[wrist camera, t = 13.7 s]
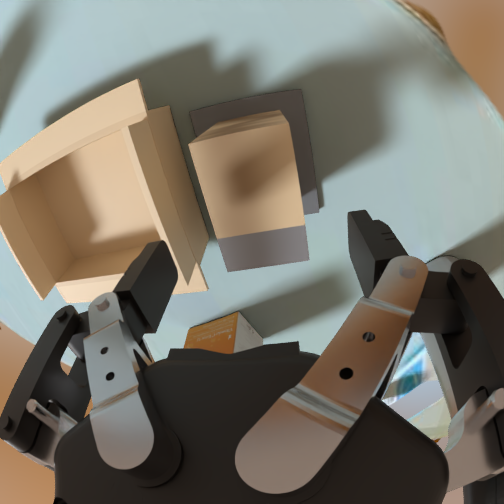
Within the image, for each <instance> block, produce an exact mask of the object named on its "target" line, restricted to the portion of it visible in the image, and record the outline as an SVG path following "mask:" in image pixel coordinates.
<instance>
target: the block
mask: <svg viewBox="0 0 504 504" xmlns="http://www.w3.org/2000/svg"><path fill="white" fill-rule="evenodd" d="M188 145H189V149H190V152H191V156H192V159H193V162H194V166H195V169H196V173H197V176H198V179H199V183H200V186H201V189H202V192H203V196H204V199H205V202H206V206H207V209H208V212H209V215H210V218H211V222H212V225H213V228H214V231H215V234H216V237H217V240H218V244H219V247H220V250H221V253H222V256H223V259H224V262H225V265H226V268H227V271H228V272H232V271H239V270H246V269H253V268H260V267H267V266H274V265H281V264H287V263H294V262H301V261H308V260H309V252H308V243H307V235H306V227H305V220H304V213H303V205H302V198H301V192H300V185H299V179H298V172H297V166H296V160H295V154H294V148H293V143H292V137H291V132H290V126H289V123H288V121H287V120H286V118H285V117H284V115H283V114H282V113H281V111H280V110H276V111H270V112H265V113H259V114H254V115H249V116H244V117H239V118H235V119H230V120H226V121H221V122H218V123H216V124H215V125H213V126H212V127H211V128H209V129H208V130H206V131H205V132H204V133H202V134H201V135H200V136H198V137H197V138H196V139H195V140H193V141H192V142H191V143H189V144H188Z"/></svg>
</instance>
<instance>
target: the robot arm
mask: <svg viewBox="0 0 504 504" xmlns="http://www.w3.org/2000/svg"><path fill="white" fill-rule="evenodd" d="M348 244H349V253H350V258H351V261H352V263H353V266H354V269H355V271H356V274H357V277H358V280H359V282H360V285H361V288H362V291H363V294H364V296H365V297H364V296H363V297H361V298H360V299H359V301H358V302H357V304H356V305H355V307H354V308H353V310H352V311H351V313H350V314H349V316H348V317H347V319H346V320H345V322H344V323H343V325H342V326H341V328H340V329H339V331H338V332H337V334H336V335H335V336H334V338H333V339H332V341H331V342H330V343H329V345H328V346H327V347H326V349H325V350H324V352H323V353H322V354H321V356H320V355H317V354H313V353H309V352H302V351H300V348H299V341H297V342H288V343H278V344H267V345H262V346H258V347H255V348H251V349H247V350H244V351H240V352H236V353H232V354H225V353H220V352H214V351H209V350H204V349H200V348H183V349H170V351H169V354H168V357H167V358H166V359H162V360H159V361H157V362H155V361H154V359H153V357H152V355H151V352H150V350H149V348H148V345H147V343H146V341H145V339H144V338H143V335H144V333H156V331H157V329H158V326H159V324H160V321H161V319H162V316H163V314H164V311H165V309H166V307H167V304H168V302H169V300H170V297H171V295H172V293H173V290H174V288H175V286H176V283H177V281H178V270H177V267H176V265H175V262H174V260H173V258H172V255H171V253H170V250H169V248H168V245H167V243H166V242H165V241H164V240H160V241H155V242H149V243H147V245H146V246H145V247H144V249H143V250H142V252H141V253H140V255H139V256H138V257H137V258H136V259H134V260H133V261H132V263H131V264H130V265H129V267H128V268H127V269H128V270H126V271H125V273H124V276H122V277H121V279H120V280H119V282H118V283H117V285H116V287H115V288H114V290H113V291H112V292H107V293H104V294H101V295H100V296H98V297H97V298H95V299H94V300H93V301H92V302H91V304H90V305H89V308H88V311H86V312H83V313H80V314H78V312H77V311H76V309H75V308H74V307H73V306H72V305H68V306H65V307H63V308H61V309H60V310H58V311H57V312H56V313H55V315H54V316H53V317H52V319H51V320H50V322H49V324H48V325H47V327H46V329H45V330H44V332H43V333H42V335H41V337H40V338H39V340H38V342H37V344H36V345H35V347H34V349H33V351H32V352H31V354H30V356H29V358H28V360H27V362H26V363H25V365H24V367H23V369H22V371H21V373H20V375H19V377H18V379H17V381H16V383H15V385H14V388H13V389H12V391H11V394H10V396H9V398H8V400H7V403H6V405H5V407H4V410H3V412H2V414H1V417H0V438H1V439H3V440H4V441H5V442H6V443H8V444H9V445H11V446H12V447H14V448H15V449H17V450H18V451H19V452H20V453H22V454H23V455H25V456H27V457H28V458H30V459H31V460H33V461H35V462H37V463H38V464H40V465H43V466H45V467H47V468H49V469H51V470H53V471H54V472H55V499H54V503H53V504H442V501H443V499H444V497H445V494H446V493H447V492H450V491H452V490H455V489H457V488H460V487H462V486H463V494H464V504H504V299H503V297H502V296H501V294H500V292H499V291H498V289H497V288H496V286H495V285H494V283H493V282H492V280H491V279H490V278H489V276H488V275H487V273H486V272H485V270H484V269H483V268H482V267H481V266H480V265H479V264H477V263H475V262H473V261H470V260H466V259H461V260H458V259H457V258H455V257H452V256H444V257H439V258H437V259H434V260H432V261H431V262H429V263H427V264H425V263H424V262H423V261H422V260H420V259H418V258H416V257H413V256H409V255H408V254H407V252H406V251H405V249H404V248H403V246H402V245H401V243H400V242H399V240H398V239H397V237H396V236H395V234H394V233H393V232H392V230H391V229H390V227H389V226H388V225H387V224H385V223H384V222H382V221H380V220H372V218H371V217H370V215H369V214H368V212H367V211H366V210H359V211H351V212H348ZM413 332H419V333H420V334H421V337H422V339H423V341H424V344H425V346H426V349H427V351H428V354H429V356H430V359H431V361H432V364H433V366H434V369H435V372H436V374H437V377H438V380H439V383H440V386H441V389H442V391H443V394H444V398H445V400H446V403H447V407H448V410H449V413H450V417H451V422H450V425H449V429H448V444H447V447H446V449H445V451H444V452H443V451H442V449H441V448H440V447H439V446H438V445H437V444H436V443H435V442H434V441H433V440H431V439H430V438H429V437H427V436H426V435H425V434H423V433H422V432H421V431H420V430H418V429H417V428H416V427H414V426H413V425H412V424H410V423H409V422H408V421H407V420H405V419H404V418H403V417H402V416H400V415H399V414H398V413H396V412H395V411H394V410H393V409H391V408H390V407H389V406H388V405H386V404H385V403H384V402H383V401H382V399H383V397H384V395H385V393H386V391H387V389H388V387H389V385H390V383H391V381H392V379H393V376H394V374H395V372H396V370H397V368H398V365H399V363H400V361H401V359H402V357H403V354H404V352H405V350H406V348H407V345H408V343H409V341H410V338H411V336H412V333H413ZM67 346H68V347H69V348H70V349H71V350H72V351H73V352H74V354H75V355H76V356H77V358H76V360H75V362H74V364H73V366H72V368H71V371H70V373H69V375H67V374H66V373H65V372H64V371H63V370H62V368H61V365H60V360H61V357H62V356H63V354H64V352H65V350H66V348H67ZM91 396H92V401H93V409H91V411H90V414H88V415H87V416H86V417H85V418H84V416H85V413H86V410H87V407H88V404H89V401H90V399H91Z"/></svg>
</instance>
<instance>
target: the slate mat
mask: <svg viewBox="0 0 504 504" xmlns="http://www.w3.org/2000/svg"><path fill="white" fill-rule="evenodd" d="M276 110H280V111H281V113H282V114H283V115H284V117H285V118H286V120H287V121H288V123H289V126H290V132H291V137H292V143H293V148H294V154H295V160H296V166H297V172H298V179H299V185H300V192H301V198H302V205H303V213H304V215H306V214H313V213H319V205H318V196H317V187H316V179H315V172H314V164H313V157H312V150H311V144H310V137H309V131H308V125H307V119H306V113H305V108H304V102H303V97H302V92H301V89H297V90H290V91H283V92H276V93H270V94H264V95H259V96H253V97H248V98H243V99H238V100H234V101H229V102H225V103H221V104H217V105H213V106H209V107H205V108H201V109H197V110H194V111H190V116H191V120H192V123H193V127H194V131H195V134H196V138H197V137H198V136H200V135H201V134H202V133H204V132H205V131H206V130H208V129H209V128H211V127H212V126H213V125H215V124H216V123H218V122H221V121H226V120H230V119H235V118H239V117H244V116H249V115H254V114H259V113H265V112H270V111H276Z"/></svg>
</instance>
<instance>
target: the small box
mask: <svg viewBox="0 0 504 504" xmlns="http://www.w3.org/2000/svg"><path fill="white" fill-rule="evenodd" d="M262 345H263V338H262V337H261V336H260V335H259V334H258V333H257V332H256V331H255V329H254V328H253V327H252V326H251V325H250V324H249V323H248V322H247V320H246V319H245V318H244V317H243V316H242V315H241V314H240V312H235V313H233V314H231V315H228V316H226V317H223V318H220V319H217V320H214V321H212V322H209V323H206V324H203V325H200V326H196V327H193V328H190V329H189V330H188V334H187V337H186V341H185V345H184V348H200V349H204V350H209V351H214V352H220V353H225V354H232V353H236V352H240V351H244V350H247V349H251V348H255V347H258V346H262Z"/></svg>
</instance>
